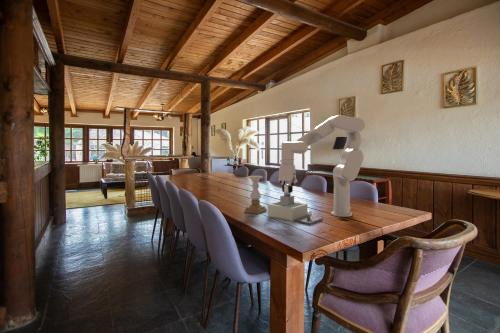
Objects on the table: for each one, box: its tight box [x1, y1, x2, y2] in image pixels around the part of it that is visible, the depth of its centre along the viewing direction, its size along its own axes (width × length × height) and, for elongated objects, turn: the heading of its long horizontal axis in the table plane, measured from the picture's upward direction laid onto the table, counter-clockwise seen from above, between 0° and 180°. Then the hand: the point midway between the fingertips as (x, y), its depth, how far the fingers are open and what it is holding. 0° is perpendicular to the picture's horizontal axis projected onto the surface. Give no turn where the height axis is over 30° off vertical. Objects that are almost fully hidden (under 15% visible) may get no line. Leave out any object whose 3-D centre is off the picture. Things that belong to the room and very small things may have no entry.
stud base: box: [294, 209, 324, 226], centre depth 158 cm, size 14×10×6 cm
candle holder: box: [244, 175, 268, 215], centre depth 182 cm, size 11×11×24 cm
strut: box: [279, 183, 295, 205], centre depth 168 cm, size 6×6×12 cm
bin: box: [267, 200, 308, 223], centre depth 169 cm, size 16×18×8 cm
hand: (287, 191), depth 168 cm, fingers closed on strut, 4 cm apart
